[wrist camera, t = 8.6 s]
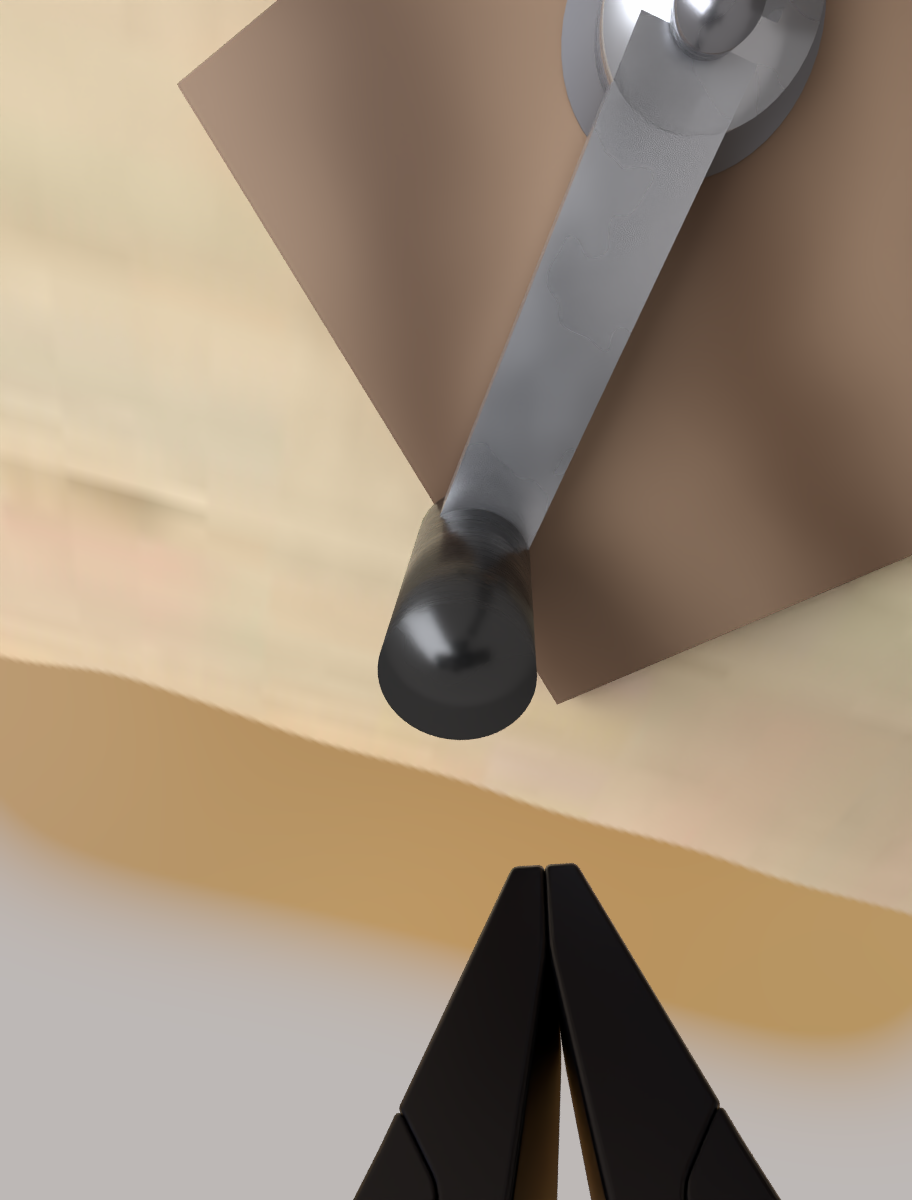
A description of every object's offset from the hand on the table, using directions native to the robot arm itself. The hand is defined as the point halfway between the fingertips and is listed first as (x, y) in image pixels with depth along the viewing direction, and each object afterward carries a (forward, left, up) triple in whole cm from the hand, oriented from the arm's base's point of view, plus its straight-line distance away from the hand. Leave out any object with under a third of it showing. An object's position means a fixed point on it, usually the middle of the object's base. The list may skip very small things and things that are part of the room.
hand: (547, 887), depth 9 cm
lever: (-5, -6, -10) cm, 13 cm away
